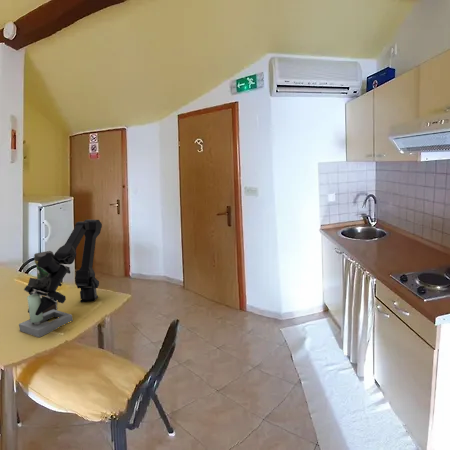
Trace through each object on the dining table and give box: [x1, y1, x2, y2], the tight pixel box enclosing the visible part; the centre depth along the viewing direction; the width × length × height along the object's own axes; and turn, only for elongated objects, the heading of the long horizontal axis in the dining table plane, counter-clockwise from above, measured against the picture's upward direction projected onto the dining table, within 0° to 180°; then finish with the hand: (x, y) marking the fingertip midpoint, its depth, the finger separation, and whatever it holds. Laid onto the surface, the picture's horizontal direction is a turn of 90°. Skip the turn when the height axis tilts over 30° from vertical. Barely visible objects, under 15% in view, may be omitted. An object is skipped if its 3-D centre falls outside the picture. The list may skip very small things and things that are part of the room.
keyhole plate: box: [18, 309, 74, 338], centre depth 138 cm, size 15×12×3 cm
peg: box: [26, 294, 43, 325], centre depth 134 cm, size 5×5×14 cm
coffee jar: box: [33, 250, 55, 279], centre depth 183 cm, size 10×8×19 cm
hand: (32, 313), depth 132 cm, fingers closed on peg, 4 cm apart
